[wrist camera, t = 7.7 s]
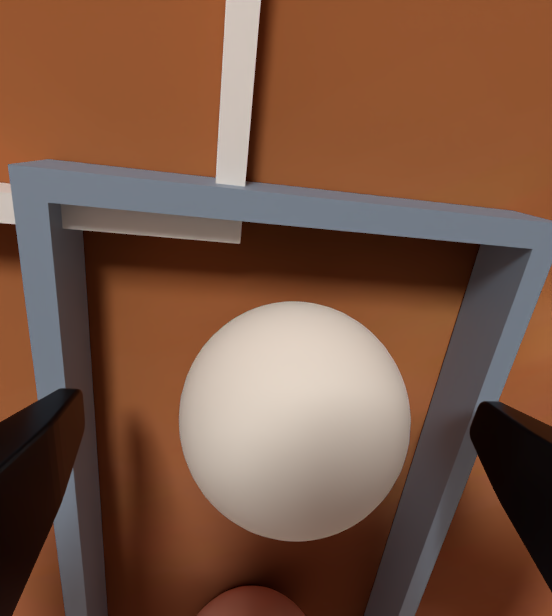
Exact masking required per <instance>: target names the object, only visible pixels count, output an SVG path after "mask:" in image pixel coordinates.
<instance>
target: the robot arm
mask: <svg viewBox="0 0 552 616" xmlns="http://www.w3.org/2000/svg"><path fill="white" fill-rule="evenodd" d="M84 429H85V412H84V400H83V393H82V391H81V390H80V389H72V388H60V389H58V390H56V391H54V392H52V393H50V394H49V395H47V396H45V397H43V398H42V399H40V400H38V401H36V402H35V403H33V404H31V405H29V406H28V407H26V408H24V409H22V410H21V411H19V412H17V413H15V414H14V415H12V416H10V417H8V418H7V419H5V420H3V421H1V422H0V616H12V615H13V612H14V610H15V608H16V606H17V603H18V601H19V599H20V597H21V594H22V592H23V590H24V588H25V585H26V583H27V581H28V579H29V576H30V574H31V572H32V569H33V567H34V565H35V563H36V560H37V558H38V556H39V554H40V551H41V549H42V547H43V545H44V542H45V540H46V538H47V536H48V533H49V531H50V529H51V527H52V524H53V522H54V520H55V518H56V515H57V513H58V510H59V508H60V506H61V503H62V500H63V497H64V494H65V491H66V488H67V485H68V482H69V479H70V476H71V472H72V469H73V466H74V463H75V460H76V456H77V453H78V450H79V447H80V444H81V440H82V437H83V434H84ZM469 434H470V439H471V441H472V443H473V446H474V448H475V450H476V452H477V454H478V457H479V459H480V461H481V463H482V465H483V467H484V470H485V472H486V474H487V476H488V478H489V480H490V483H491V485H492V487H493V489H494V491H495V493H496V495H497V497H498V499H499V501H500V503H501V505H502V506H503V508H504V510H505V512H506V514H507V515H508V517H509V519H510V520H511V522H512V524H513V526H514V527H515V529H516V531H517V533H518V534H519V536H520V538H521V540H522V541H523V543H524V545H525V547H526V548H527V550H528V552H529V554H530V555H531V557H532V559H533V560H534V562H535V564H536V566H537V567H538V569H539V571H540V573H541V574H542V576H543V578H544V580H545V581H546V583H547V585H548V587H549V588H550V590H551V592H552V427H551V426H549V425H547V424H545V423H543V422H541V421H539V420H537V419H535V418H533V417H530V416H528V415H526V414H524V413H522V412H520V411H518V410H516V409H514V408H512V407H510V406H508V405H505V404H503V403H501V402H498V401H483V402H481V403H480V404H479V405H478V407H477V410H476V413H475V415H474V418H473V421H472V423H471V426H470V430H469Z"/></svg>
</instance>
